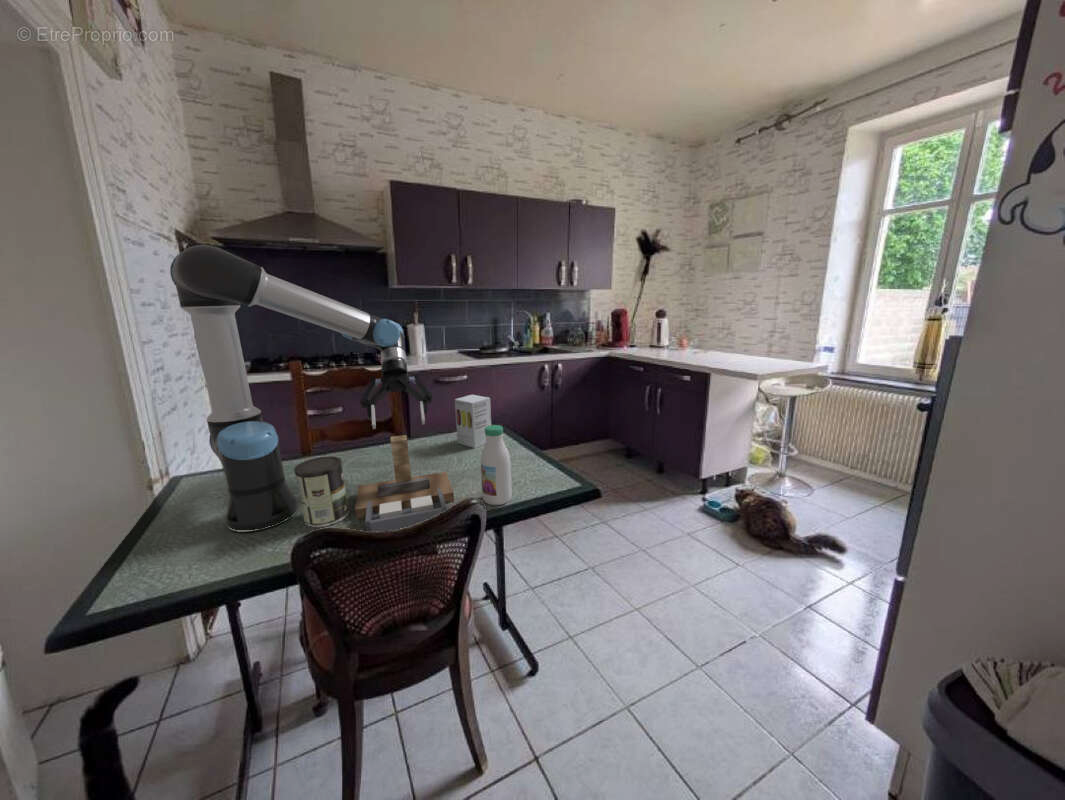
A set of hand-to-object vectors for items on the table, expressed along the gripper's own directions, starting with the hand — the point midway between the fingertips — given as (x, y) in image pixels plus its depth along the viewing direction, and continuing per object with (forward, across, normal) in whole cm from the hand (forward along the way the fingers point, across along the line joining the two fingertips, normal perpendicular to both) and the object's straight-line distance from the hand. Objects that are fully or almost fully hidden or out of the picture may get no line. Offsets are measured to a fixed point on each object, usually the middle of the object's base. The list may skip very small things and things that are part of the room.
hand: (399, 424), depth 118 cm
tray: (+29, 0, +5) cm, 30 cm away
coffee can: (+23, +19, -2) cm, 30 cm away
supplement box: (-5, -26, -28) cm, 39 cm away
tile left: (+28, +4, +4) cm, 29 cm away
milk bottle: (+27, -23, +3) cm, 36 cm away
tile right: (+28, -4, +4) cm, 28 cm away
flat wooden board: (+20, 0, -4) cm, 21 cm away
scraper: (+18, 0, -3) cm, 18 cm away
